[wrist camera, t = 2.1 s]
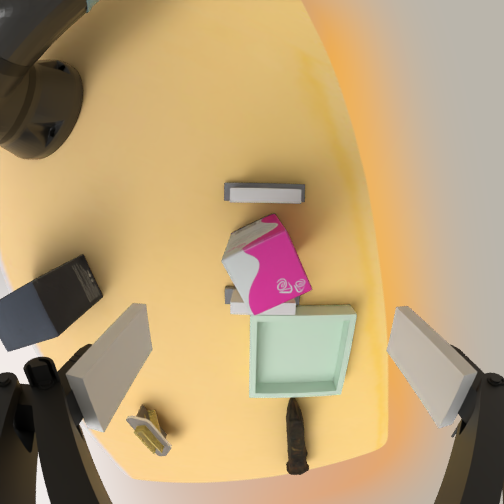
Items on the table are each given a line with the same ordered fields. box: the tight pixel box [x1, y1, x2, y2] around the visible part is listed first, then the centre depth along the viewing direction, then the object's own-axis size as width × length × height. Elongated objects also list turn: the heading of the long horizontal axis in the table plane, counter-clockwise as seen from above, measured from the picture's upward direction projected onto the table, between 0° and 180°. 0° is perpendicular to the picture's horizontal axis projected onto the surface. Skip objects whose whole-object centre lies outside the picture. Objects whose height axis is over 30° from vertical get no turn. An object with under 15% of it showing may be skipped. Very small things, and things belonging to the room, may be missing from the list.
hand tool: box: [286, 397, 309, 475], centre depth 39 cm, size 19×4×5 cm, turn 5°
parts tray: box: [249, 305, 357, 398], centre depth 36 cm, size 13×13×3 cm
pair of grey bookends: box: [224, 183, 305, 315], centre depth 32 cm, size 14×9×5 cm, turn 179°
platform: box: [126, 404, 172, 456], centre depth 39 cm, size 12×18×7 cm, turn 22°
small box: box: [0, 254, 103, 351], centre depth 30 cm, size 13×7×12 cm, turn 111°
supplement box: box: [221, 214, 312, 316], centre depth 29 cm, size 6×6×12 cm
